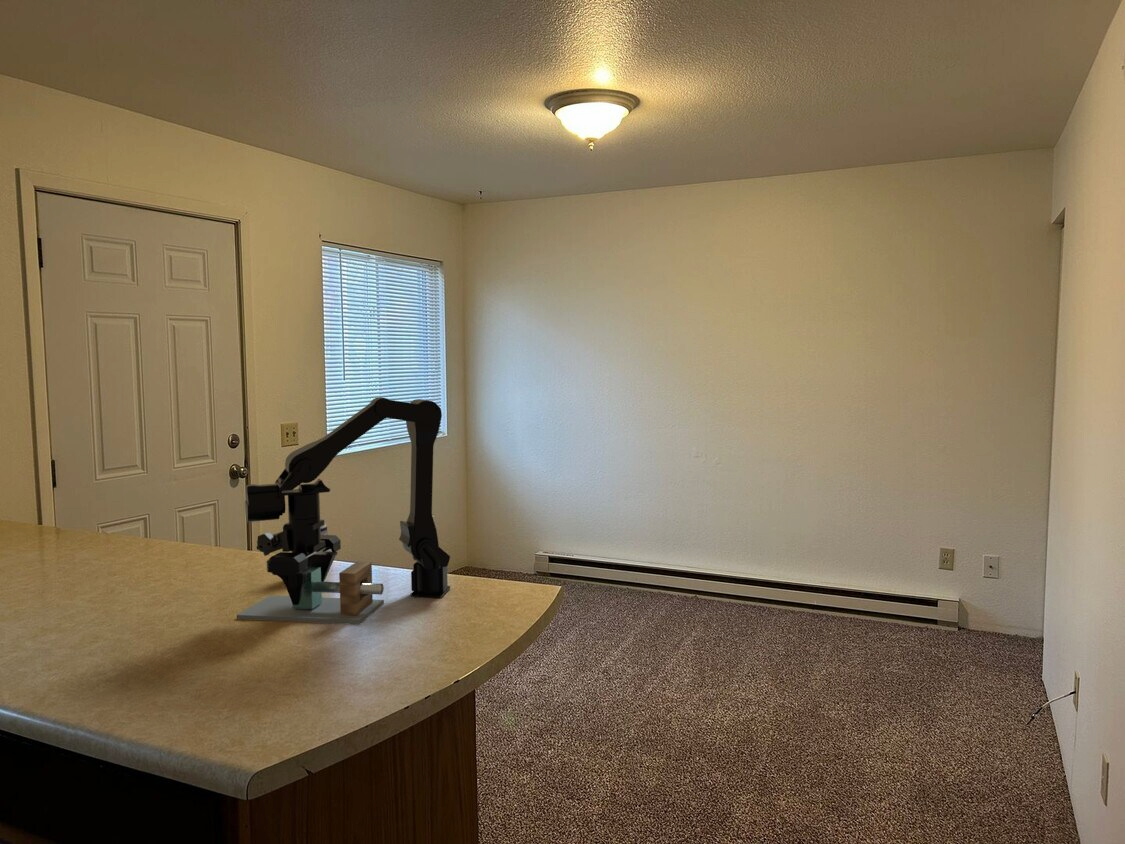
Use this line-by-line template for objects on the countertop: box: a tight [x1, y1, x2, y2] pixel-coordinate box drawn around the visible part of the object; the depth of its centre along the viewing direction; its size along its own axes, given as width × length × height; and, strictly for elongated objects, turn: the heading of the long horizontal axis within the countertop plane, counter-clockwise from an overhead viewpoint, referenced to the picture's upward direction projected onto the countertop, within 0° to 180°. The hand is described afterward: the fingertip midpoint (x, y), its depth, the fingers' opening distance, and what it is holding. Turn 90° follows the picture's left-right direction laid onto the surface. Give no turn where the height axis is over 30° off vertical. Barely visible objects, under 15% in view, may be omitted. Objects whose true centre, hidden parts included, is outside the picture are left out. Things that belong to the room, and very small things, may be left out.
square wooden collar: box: [338, 561, 374, 616], centre depth 148 cm, size 3×8×8 cm, turn 172°
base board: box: [236, 594, 385, 625], centre depth 150 cm, size 24×12×1 cm, turn 82°
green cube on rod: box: [292, 567, 385, 609], centre depth 148 cm, size 17×4×7 cm, turn 82°
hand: (307, 597), depth 150 cm, fingers open, 9 cm apart
